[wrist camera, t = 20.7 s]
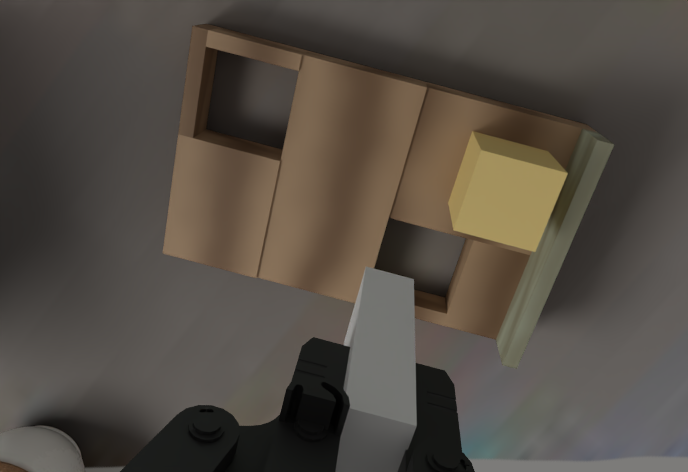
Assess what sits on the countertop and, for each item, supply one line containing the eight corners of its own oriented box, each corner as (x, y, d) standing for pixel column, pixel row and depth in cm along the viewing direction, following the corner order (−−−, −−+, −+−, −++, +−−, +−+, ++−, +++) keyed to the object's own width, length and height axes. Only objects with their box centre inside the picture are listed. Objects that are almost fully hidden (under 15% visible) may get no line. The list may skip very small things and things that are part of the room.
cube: (448, 202, 39) (453, 230, 35) (472, 130, 37) (481, 150, 33) (520, 221, 39) (535, 252, 35) (548, 151, 37) (567, 173, 33)
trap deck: (176, 238, 45) (146, 270, 40) (206, 23, 39) (175, 28, 34) (504, 325, 45) (516, 368, 40) (586, 124, 39) (614, 144, 34)
